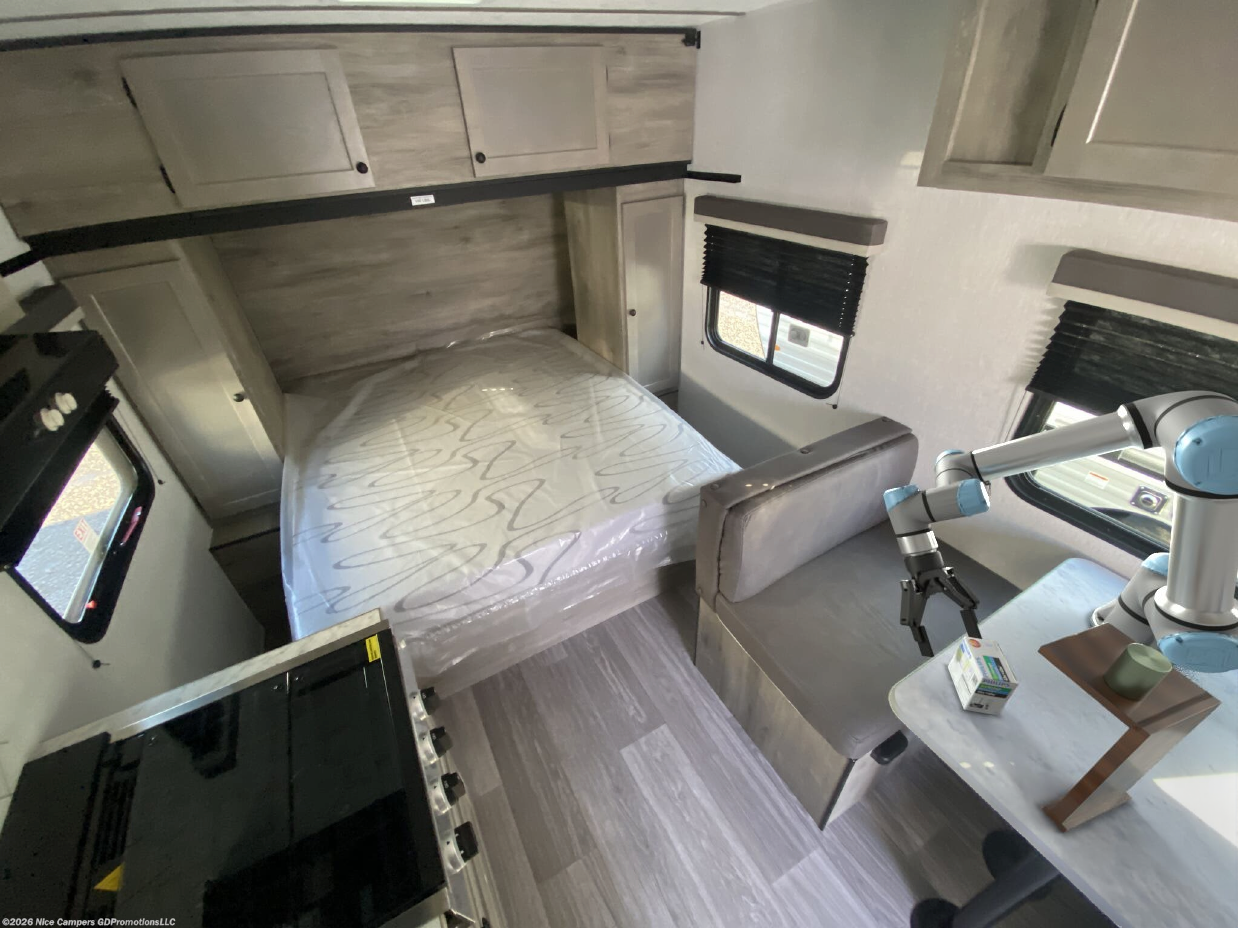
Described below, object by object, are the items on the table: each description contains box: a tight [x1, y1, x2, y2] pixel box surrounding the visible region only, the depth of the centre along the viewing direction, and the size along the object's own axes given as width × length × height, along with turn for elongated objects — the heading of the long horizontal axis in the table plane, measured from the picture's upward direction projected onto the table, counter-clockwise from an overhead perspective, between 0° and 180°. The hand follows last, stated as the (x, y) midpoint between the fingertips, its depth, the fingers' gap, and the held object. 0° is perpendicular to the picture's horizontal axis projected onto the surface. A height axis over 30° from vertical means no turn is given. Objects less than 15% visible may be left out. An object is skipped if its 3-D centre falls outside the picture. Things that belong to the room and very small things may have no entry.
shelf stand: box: [1037, 622, 1223, 834], centre depth 86 cm, size 16×17×36 cm
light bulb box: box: [947, 636, 1020, 716], centre depth 107 cm, size 11×7×11 cm, turn 169°
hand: (952, 647), depth 112 cm, fingers open, 13 cm apart
